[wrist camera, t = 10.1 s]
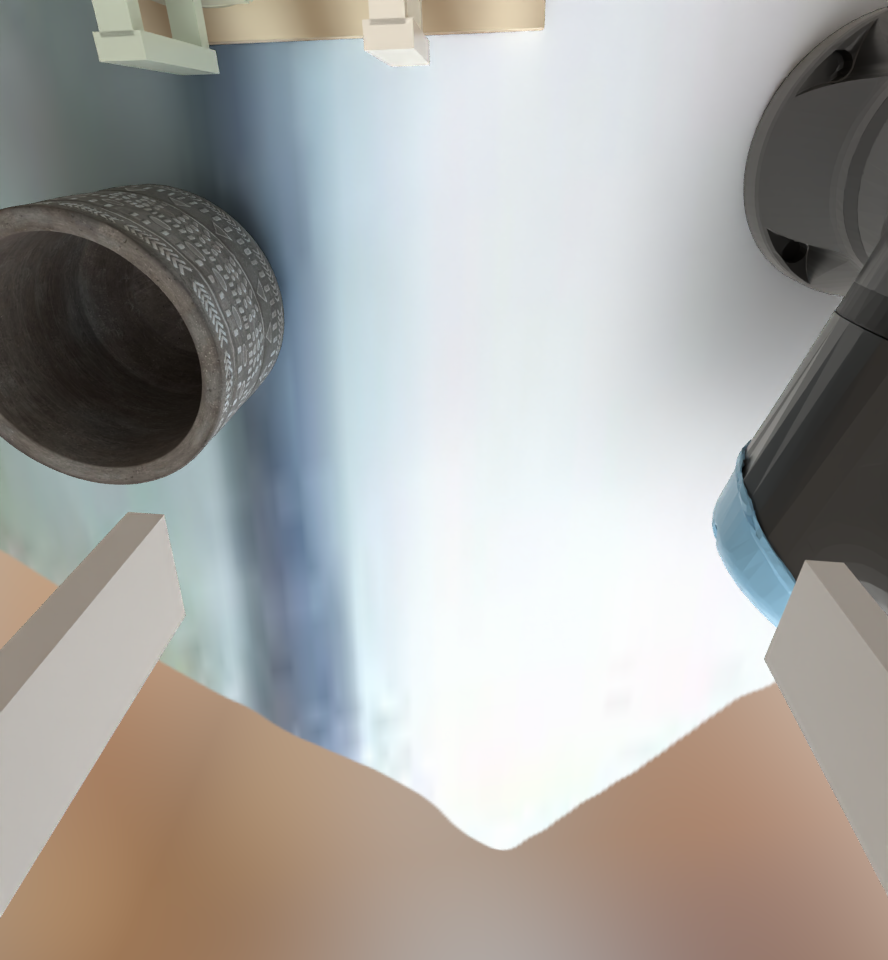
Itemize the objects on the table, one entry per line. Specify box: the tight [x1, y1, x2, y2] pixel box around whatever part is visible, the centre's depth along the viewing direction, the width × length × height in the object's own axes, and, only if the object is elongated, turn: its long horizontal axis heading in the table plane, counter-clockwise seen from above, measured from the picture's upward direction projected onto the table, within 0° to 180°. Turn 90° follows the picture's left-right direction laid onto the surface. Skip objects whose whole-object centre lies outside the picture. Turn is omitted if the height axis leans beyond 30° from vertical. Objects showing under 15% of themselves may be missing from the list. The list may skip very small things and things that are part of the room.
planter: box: [0, 184, 284, 485], centre depth 37 cm, size 14×14×15 cm
